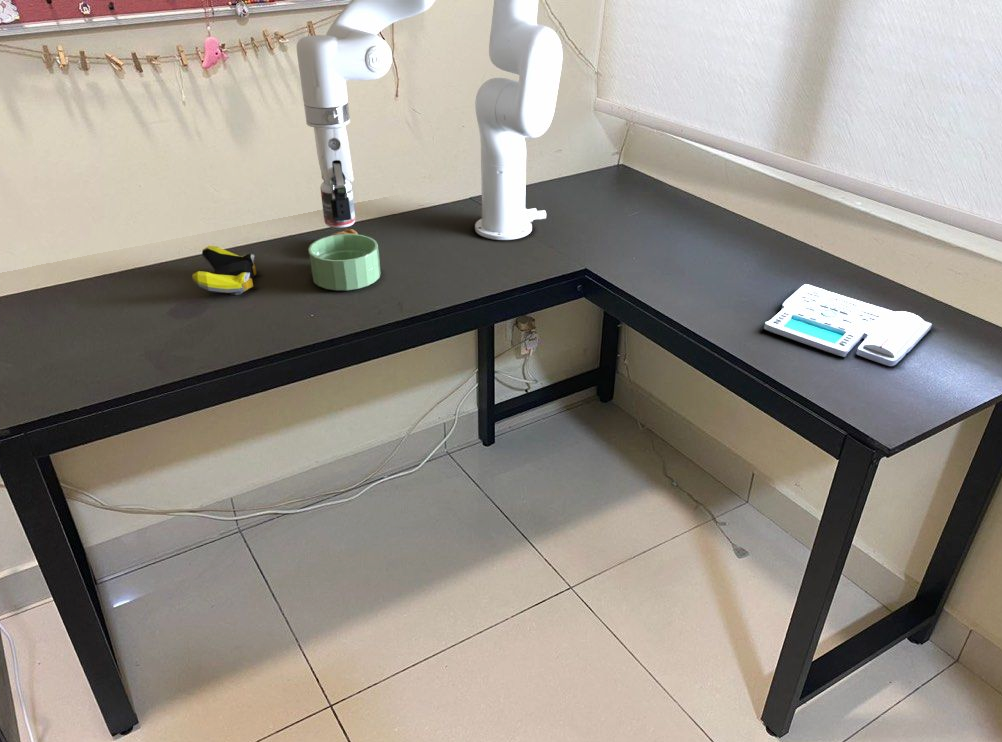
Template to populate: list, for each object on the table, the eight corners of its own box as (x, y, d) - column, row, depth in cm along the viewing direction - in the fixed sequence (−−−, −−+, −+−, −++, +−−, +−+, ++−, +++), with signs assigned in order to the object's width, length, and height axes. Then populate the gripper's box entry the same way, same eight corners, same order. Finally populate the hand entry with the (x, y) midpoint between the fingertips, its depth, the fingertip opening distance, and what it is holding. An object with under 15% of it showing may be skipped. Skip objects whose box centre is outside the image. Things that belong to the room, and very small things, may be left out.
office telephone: (935, 316, 139) (896, 361, 126) (930, 329, 140) (892, 375, 127) (806, 277, 151) (759, 314, 138) (803, 289, 152) (757, 328, 140)
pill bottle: (318, 223, 150) (311, 171, 144) (343, 215, 153) (337, 163, 148) (337, 231, 146) (330, 178, 141) (361, 223, 150) (356, 170, 144)
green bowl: (373, 260, 163) (370, 230, 159) (386, 287, 153) (383, 255, 149) (309, 269, 159) (304, 238, 156) (318, 297, 149) (313, 264, 146)
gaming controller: (195, 303, 147) (251, 300, 148) (188, 276, 144) (245, 272, 145) (208, 269, 159) (259, 266, 160) (202, 243, 156) (254, 240, 157)
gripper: (357, 125, 133) (367, 228, 143) (340, 100, 146) (351, 196, 157) (312, 128, 131) (325, 233, 141) (299, 103, 144) (312, 200, 154)
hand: (339, 212), depth 149 cm, fingers closed on pill bottle, 5 cm apart
